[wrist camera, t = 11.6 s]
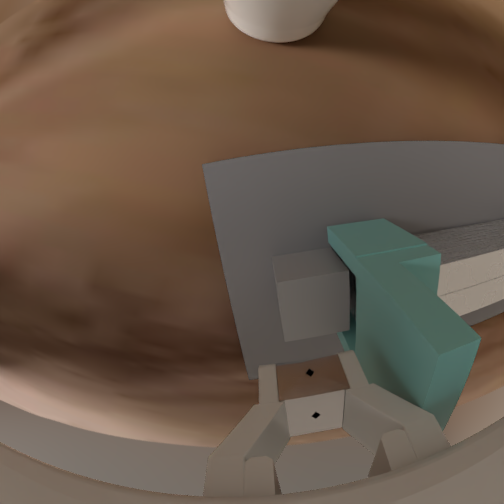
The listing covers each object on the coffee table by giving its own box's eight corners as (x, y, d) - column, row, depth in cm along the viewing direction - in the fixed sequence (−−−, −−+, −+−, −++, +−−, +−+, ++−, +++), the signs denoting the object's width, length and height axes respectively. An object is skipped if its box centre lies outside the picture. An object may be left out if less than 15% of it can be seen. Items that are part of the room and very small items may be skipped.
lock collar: (332, 323, 15) (392, 474, 6) (326, 226, 13) (439, 353, 4) (382, 313, 15) (466, 442, 6) (383, 218, 13) (527, 313, 4)
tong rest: (249, 364, 18) (248, 415, 14) (207, 163, 14) (188, 167, 10) (524, 290, 17) (553, 311, 13) (535, 148, 13) (573, 154, 9)
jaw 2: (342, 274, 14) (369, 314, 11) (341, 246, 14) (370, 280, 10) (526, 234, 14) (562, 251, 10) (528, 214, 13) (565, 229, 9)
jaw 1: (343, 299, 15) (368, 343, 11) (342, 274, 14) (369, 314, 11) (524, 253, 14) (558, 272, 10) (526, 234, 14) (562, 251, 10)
